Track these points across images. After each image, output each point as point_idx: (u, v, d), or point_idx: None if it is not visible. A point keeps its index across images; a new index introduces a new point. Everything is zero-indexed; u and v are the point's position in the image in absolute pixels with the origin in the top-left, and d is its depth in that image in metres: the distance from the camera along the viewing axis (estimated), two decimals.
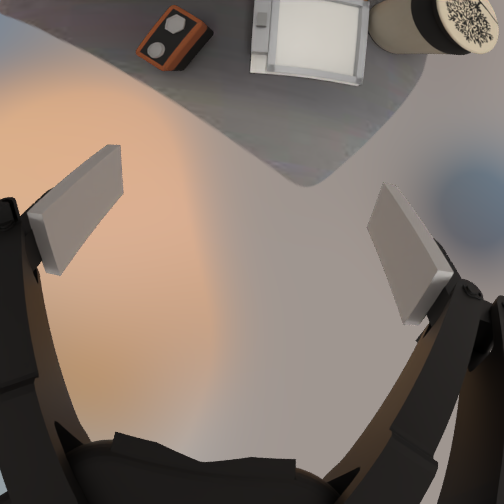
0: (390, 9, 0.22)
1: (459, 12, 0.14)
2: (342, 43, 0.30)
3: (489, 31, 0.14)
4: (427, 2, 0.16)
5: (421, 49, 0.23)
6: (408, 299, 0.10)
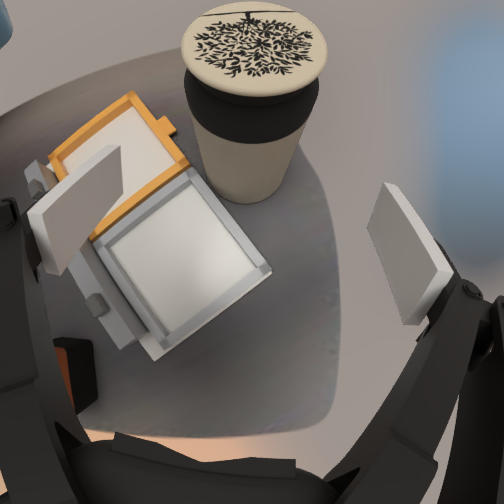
0: (203, 153, 0.22)
1: (235, 52, 0.12)
2: (211, 243, 0.28)
3: (297, 30, 0.13)
4: (198, 93, 0.14)
5: (275, 159, 0.20)
6: (408, 299, 0.10)
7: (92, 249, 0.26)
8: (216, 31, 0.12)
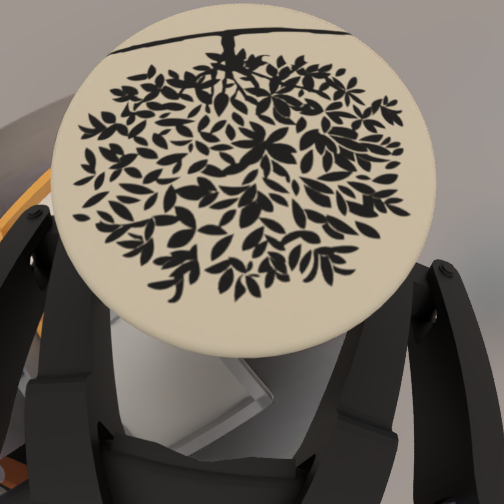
0: None
1: (183, 190, 0.05)
2: (196, 362, 0.21)
3: (363, 94, 0.05)
4: None
5: None
6: None
7: None
8: (135, 104, 0.05)
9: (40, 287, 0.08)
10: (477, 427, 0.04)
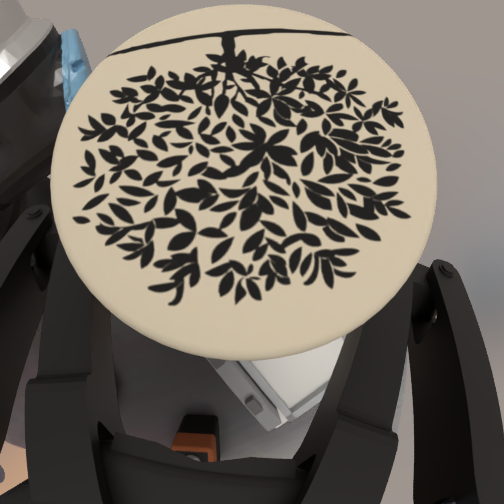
0: None
1: (184, 192, 0.05)
2: None
3: (364, 95, 0.05)
4: None
5: None
6: None
7: None
8: (135, 105, 0.05)
9: (40, 287, 0.08)
10: (477, 427, 0.04)
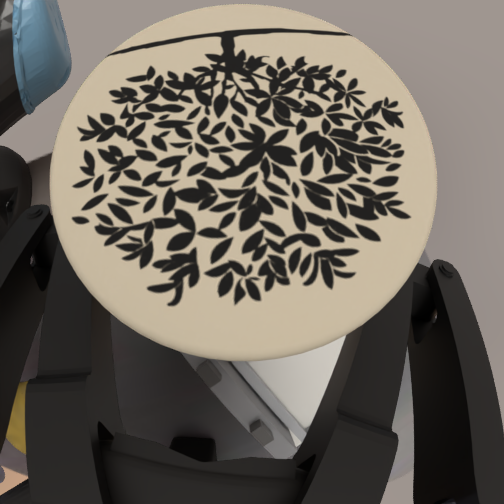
0: None
1: (183, 192, 0.05)
2: None
3: (364, 95, 0.05)
4: None
5: None
6: None
7: (227, 361, 0.24)
8: (134, 105, 0.05)
9: (40, 287, 0.08)
10: (477, 427, 0.04)
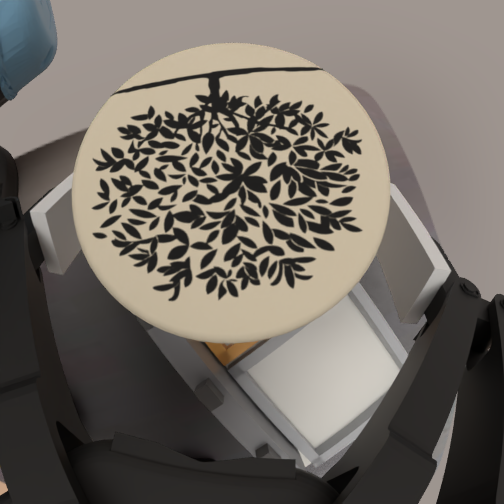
0: None
1: (179, 214, 0.06)
2: (365, 355, 0.24)
3: (327, 127, 0.06)
4: None
5: None
6: (406, 297, 0.10)
7: (229, 378, 0.21)
8: (139, 142, 0.06)
9: None
10: None
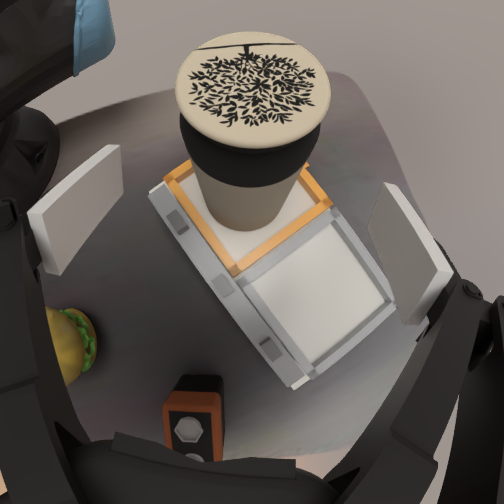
0: (201, 187, 0.22)
1: (232, 95, 0.12)
2: (350, 279, 0.30)
3: (299, 67, 0.13)
4: (194, 136, 0.15)
5: (274, 197, 0.20)
6: (408, 299, 0.10)
7: None
8: (212, 69, 0.13)
9: None
10: None
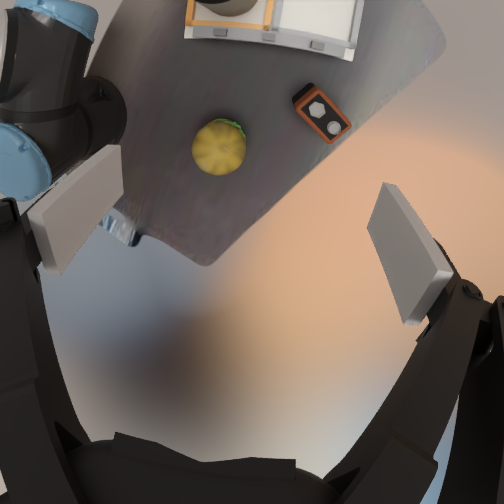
0: (216, 9, 0.27)
1: None
2: None
3: None
4: None
5: None
6: (408, 299, 0.10)
7: None
8: None
9: None
10: None
